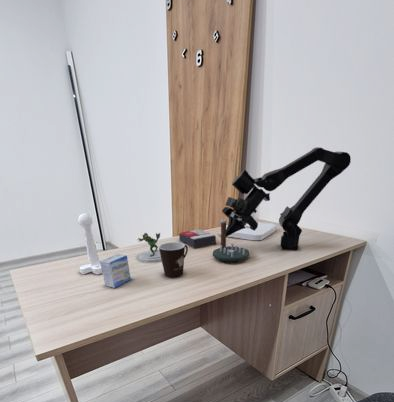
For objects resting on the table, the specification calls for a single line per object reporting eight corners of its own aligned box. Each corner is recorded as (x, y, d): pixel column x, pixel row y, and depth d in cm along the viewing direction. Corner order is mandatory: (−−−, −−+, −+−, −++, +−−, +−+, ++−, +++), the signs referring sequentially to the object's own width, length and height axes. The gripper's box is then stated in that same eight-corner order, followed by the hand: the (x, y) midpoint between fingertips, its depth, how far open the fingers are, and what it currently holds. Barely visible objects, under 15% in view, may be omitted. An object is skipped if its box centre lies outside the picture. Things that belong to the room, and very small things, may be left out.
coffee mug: (167, 281, 99) (164, 252, 94) (158, 272, 106) (155, 245, 101) (198, 274, 103) (197, 245, 98) (187, 266, 110) (186, 239, 105)
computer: (260, 241, 133) (260, 235, 132) (217, 235, 144) (217, 230, 142) (277, 229, 149) (278, 224, 147) (237, 225, 159) (237, 220, 158)
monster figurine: (132, 257, 120) (128, 232, 115) (155, 250, 128) (153, 225, 122) (151, 264, 113) (148, 237, 108) (174, 256, 120) (172, 230, 115)
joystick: (108, 264, 114) (98, 210, 104) (115, 270, 109) (105, 213, 99) (79, 271, 109) (65, 215, 99) (85, 278, 104) (70, 219, 93)
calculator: (199, 228, 142) (215, 233, 130) (200, 237, 144) (216, 243, 132) (178, 232, 137) (193, 238, 126) (179, 241, 140) (194, 248, 128)
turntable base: (244, 254, 119) (244, 251, 119) (243, 263, 111) (243, 260, 110) (219, 253, 121) (219, 250, 120) (216, 262, 113) (216, 259, 112)
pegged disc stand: (256, 256, 113) (259, 223, 106) (225, 263, 107) (226, 229, 101) (235, 246, 123) (236, 216, 117) (206, 253, 118) (205, 221, 112)
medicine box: (114, 288, 95) (109, 262, 91) (104, 286, 98) (99, 260, 93) (131, 279, 101) (127, 255, 97) (121, 277, 103) (117, 253, 99)
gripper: (226, 185, 117) (201, 217, 119) (253, 192, 103) (224, 229, 105) (242, 203, 124) (219, 234, 126) (269, 213, 110) (242, 247, 112)
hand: (225, 235), depth 117 cm, fingers closed, pressing on pegged disc stand
